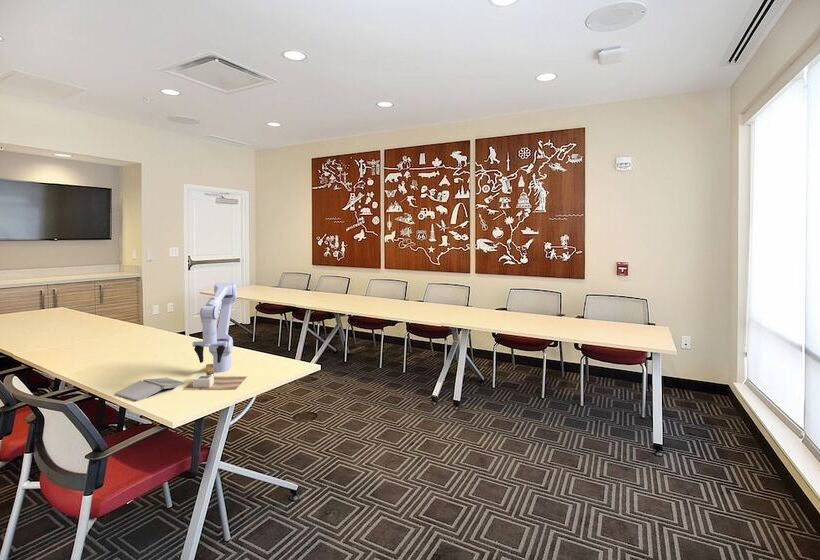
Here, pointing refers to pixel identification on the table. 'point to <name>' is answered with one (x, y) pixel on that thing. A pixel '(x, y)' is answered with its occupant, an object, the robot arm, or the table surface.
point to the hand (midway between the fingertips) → (210, 362)
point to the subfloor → (221, 383)
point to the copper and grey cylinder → (210, 370)
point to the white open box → (203, 381)
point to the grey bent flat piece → (147, 388)
